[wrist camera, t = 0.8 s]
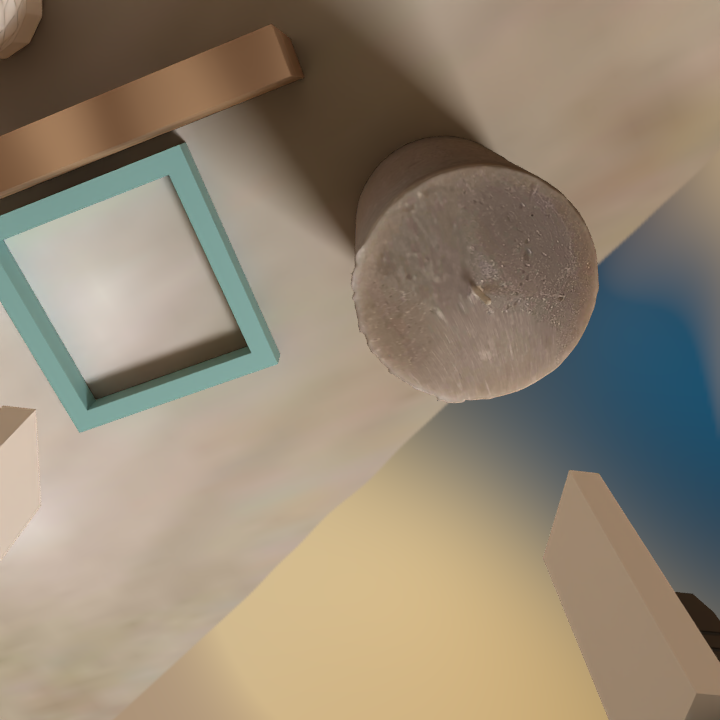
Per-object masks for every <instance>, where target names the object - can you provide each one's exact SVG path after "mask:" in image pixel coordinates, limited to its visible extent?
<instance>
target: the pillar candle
mask: <svg viewBox="0 0 720 720" xmlns="http://www.w3.org/2000/svg"><path fill="white" fill-rule="evenodd" d="M351 287H352V290H353V291H354V294H353V297H352V299H353V300H354V302H355V309H356V312H357V318H358V326H359V330H360V332H362V333H363V334H364V335H365V337H366V339H367V344H368V346H369V348H370V350H371V352H372V353H374V354H375V355H376V356H377V357H378V358H379V360H380V361H381V362H382V363H383V364H384V365H385V366H386V367H387V368H388V370H389V372H390V373H391V374H393V375H395V376H396V377H398V378H399V379H401V380H402V381H403V382H406V383H407V384H409V385H410V386H412V387H413V388H415V389H416V390H420V391H423V392H425V393H428V394H431V395H435V396H436V397H437V398H438V400H443V401H445V402H447V403H461V402H464V401H465V400H467V399H468V400H478V399H491V398H493V397H499V396H503V395H506V394H510V393H513V392H516V391H519V390H521V389H524V388H526V387H528V386H530V385H531V384H533V383H535V382H537V381H538V380H540V379H541V378H543V377H544V376H546V375H548V374H549V373H551V372H552V371H553V370H554V369H556V368H557V367H558V366H559V365H560V364H561V363H562V362H563V361H564V360H565V358H566V357H567V356H568V355H569V353H571V351H572V350H573V349H574V347H575V346H576V345H577V343H578V342H579V340H580V338H581V337H582V334H583V333H584V331H585V328H586V326H587V324H588V322H589V320H590V316H591V314H592V311H593V309H594V306H595V301H596V295H597V292H598V288H599V283H598V267H597V256H596V250H595V247H594V243H593V241H592V238H591V235H590V233H589V230H588V227H587V226H586V224H585V222H584V220H583V218H582V216H581V215H580V213H579V212H578V211H577V209H576V208H575V207H574V206H573V205H572V203H571V202H570V201H569V200H568V199H567V198H566V197H565V196H564V195H563V194H562V193H561V192H560V191H559V190H557V189H556V188H555V187H553V186H552V185H550V184H549V183H548V182H546V181H544V180H543V179H541V178H539V177H538V176H536V175H534V174H532V173H530V172H528V171H526V170H524V169H523V168H521V167H519V166H517V165H515V164H513V163H511V162H509V161H508V160H506V159H505V158H504V157H502V156H500V155H498V154H496V153H495V152H493V151H491V150H489V149H487V148H485V147H484V146H483V145H481V144H478V143H476V142H474V141H471V140H467V139H463V138H459V137H453V136H438V137H429V138H424V139H420V140H417V141H415V142H412V143H409V144H406V145H404V146H403V147H401V148H399V149H397V150H396V151H394V152H393V153H392V154H390V155H389V156H388V157H387V158H386V159H385V160H384V161H382V162H381V163H380V164H379V166H378V167H377V168H376V169H375V171H374V172H373V173H372V175H371V176H370V178H369V179H368V181H367V183H366V184H365V186H364V188H363V191H362V193H361V196H360V199H359V202H358V207H357V212H356V230H355V268H354V271H353V273H352V279H351ZM438 400H437V401H438Z"/></svg>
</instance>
